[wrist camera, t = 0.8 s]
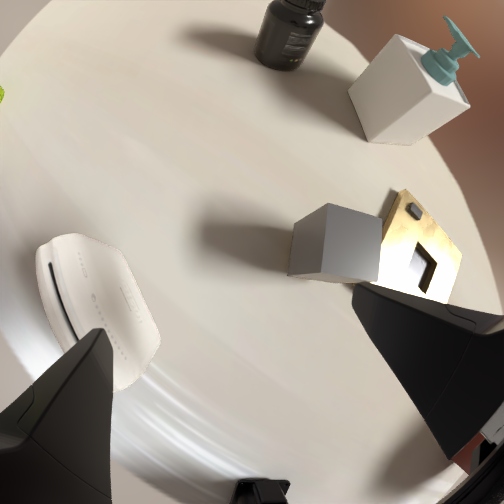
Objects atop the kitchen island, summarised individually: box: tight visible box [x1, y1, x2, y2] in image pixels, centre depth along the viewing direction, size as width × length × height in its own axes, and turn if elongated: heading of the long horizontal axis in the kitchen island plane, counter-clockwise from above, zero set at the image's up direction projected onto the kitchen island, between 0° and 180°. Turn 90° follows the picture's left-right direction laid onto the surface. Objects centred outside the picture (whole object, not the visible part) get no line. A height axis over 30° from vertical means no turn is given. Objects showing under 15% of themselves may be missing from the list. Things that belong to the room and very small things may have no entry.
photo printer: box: [35, 233, 161, 392], centre depth 17 cm, size 10×4×12 cm, turn 26°
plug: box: [287, 203, 382, 283], centre depth 22 cm, size 5×5×9 cm
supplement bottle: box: [254, 0, 326, 71], centre depth 24 cm, size 7×7×12 cm
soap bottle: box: [348, 15, 480, 146], centre depth 22 cm, size 9×9×19 cm
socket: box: [353, 189, 462, 303], centre depth 28 cm, size 14×14×2 cm
